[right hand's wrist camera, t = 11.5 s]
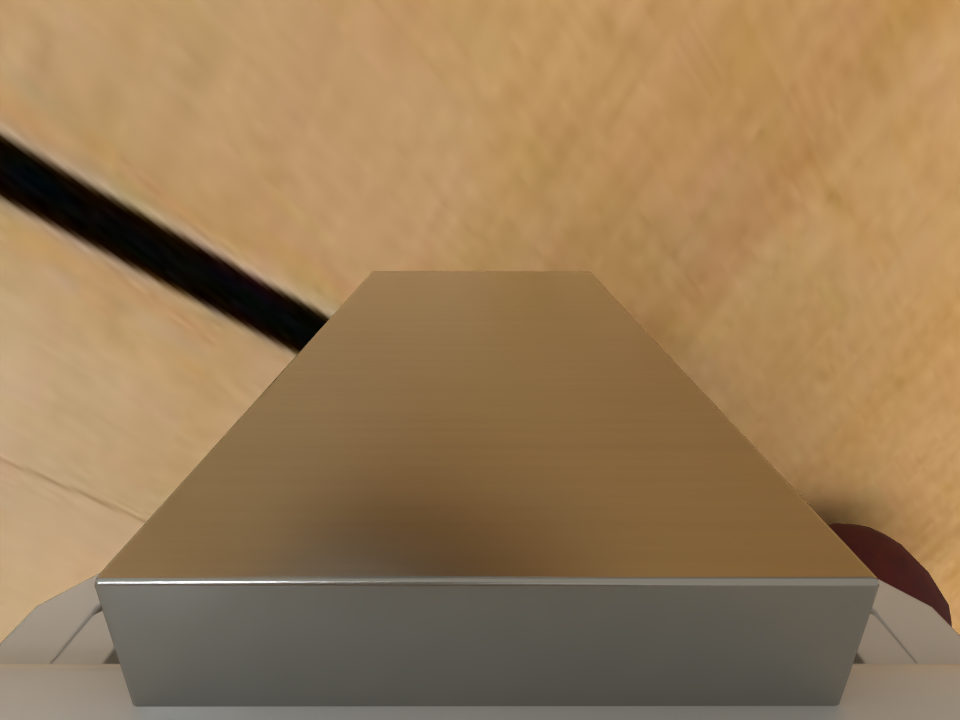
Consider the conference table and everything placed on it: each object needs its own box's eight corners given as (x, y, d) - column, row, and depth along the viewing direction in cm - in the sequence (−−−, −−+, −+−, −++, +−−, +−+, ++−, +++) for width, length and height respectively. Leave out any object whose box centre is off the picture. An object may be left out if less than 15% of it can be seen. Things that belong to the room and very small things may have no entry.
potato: (859, 604, 31) (960, 727, 25) (726, 601, 31) (792, 724, 24) (901, 499, 28) (1027, 606, 22) (754, 495, 28) (838, 601, 22)
